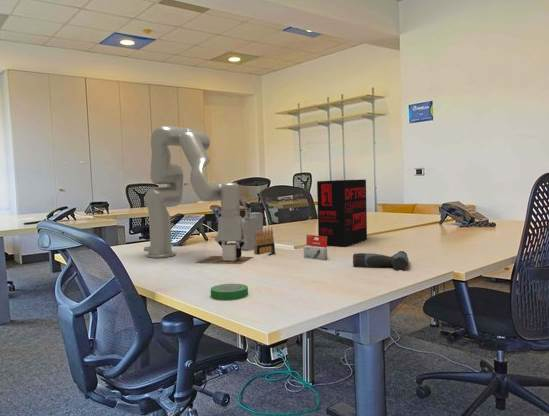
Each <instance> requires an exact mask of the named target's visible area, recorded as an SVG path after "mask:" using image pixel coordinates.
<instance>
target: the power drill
mask: <svg viewBox="0 0 549 416" xmlns="http://www.w3.org/2000/svg"><path fill="white" fill-rule="evenodd" d="M408 264H409V257H408V253H407V252H406V251H403V250H400V251H398V252H396V253H394V254H393V255H391V256H389V255H385V254H381V253H370V252H369V253H368V252H367V253H363V252H362V253H361V252H359V253H353V255H352V266H353V267H357V266H363V267H362V268H382V267H387V266H392V268H394V269H395V270H396V271H399V270H403V271H404V270H406V268H407V267H408Z"/></svg>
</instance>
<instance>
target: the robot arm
mask: <svg viewBox="0 0 549 416" xmlns="http://www.w3.org/2000/svg"><path fill="white" fill-rule="evenodd" d="M210 145H211V139H210V137H209V136H208V134H206V133H205V132H203V131H199V130H195V129H191V128H189V127H181V126H173V125H161V126H158V127H155V128H154V130H153V131H152V132H151V136H150V149H151V150H150V151H151V160H150V180H151V181H150V182H152V183H153V184H155V185H166V186H158V187H156V186H155V187H152V188H149V189H148V190H147V191H146V193H145V202H146V203H145V204H146V207H147V212H148V213H147V214H148V221H149V222H148V223H149V224H148V225H149V244H150V245H149V246H144V248H143V251H144V252H148V253H147V255H146V256H147V258H153V259H157V258H160V259H161V258H169V257H173V256H175V255H176V251H173V247H172V229H171V226H172V225H171V216H170V212H169V210H168V209H167V208H172V207H177V206H179V205H180V203H181V202H182V200H183V189H184V187H183V186H184V171H183V169H182V167H181V166H180V165H179V164H177V163H172V162H171V161H172V159H171V158H172V155H171V151H170V148H169V147H168V146H174V147H180V148H181V150H182V151H183V153H184V155H185V157H186V159H187V161H188V163H189V165H190V167H191V170H190V175H189V176H190V179H189V180H190V183H191V187H192V189H193V191H194V193H195V194H196V196H197V198H198V199H199V200H201V201H202V202H205V203H206V202H218V201H220V210H218V212H217V214H218V215H219V214H220V216H219V218H218V224H217V234H216V237H214V242H216V243H217V244H218V245H219V246H220V247H221V249H222V245H225V244H228V243H229V242H234V243H236V245H237V248H236V257H237V258H240V257H242V250H241V247H242V246H243V245H244V244H245V243H246V242H247V241H248V240H249V239H248V237H247V236H246V235H245V234H244V227H243V221H242V219H243V217H242V216H241V211H240V210H241V207H240V185H239V184H238V183H236V182H224V183H223V182H207V180H206V177H205V176H204V172H203V170H204V168H206V167H207V166H208V165H209V164H210V162H211V159H210V156H209V155H208V153H207V150H208V149H209V148H210ZM243 239H244V240H243ZM241 240H243V241H242V242H241Z"/></svg>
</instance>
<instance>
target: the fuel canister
mask: <svg viewBox="0 0 549 416" xmlns="http://www.w3.org/2000/svg"><path fill="white" fill-rule="evenodd" d="M239 202H241V204H242V205H243V208H244V212H245V215H244V217H242V221H243V227H244V234H245V235H246V236H247V237H248V239H249V240H248V241H247V242H246V243H245V244H244V245H243V246H242V247H241V251H252V250H254V245H255V232H256V230H257V232H259V229H260V231H261V232H262V229H263V230H264V223H263V222H264V218H263V217H264V215H263V213H262V212H249V211H248V209H247V205H246V203H245V201H244V200H243V198H239ZM243 240H244V239H243ZM243 240H241V242H242V241H243Z"/></svg>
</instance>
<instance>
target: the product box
mask: <svg viewBox="0 0 549 416" xmlns="http://www.w3.org/2000/svg"><path fill="white" fill-rule="evenodd" d="M316 191H317V194H316V195H317V198H316V199H317V227H318V229H317V230H318V233H317V236H327V247H332V246H333V248H334V247H335V248H336V247H337V248H347V247H351V246H354V245H356V243H357V244H359V242H360V243H363V242H365V240H366V241H367V240H368V230H367V229H368V226H367V225H368V223H367V220H368V219H367V218H368V217H367V179H338V180H337V179H336V180H318V181H316ZM317 240H320V239H319V238H317ZM362 241H363V242H362Z"/></svg>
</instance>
